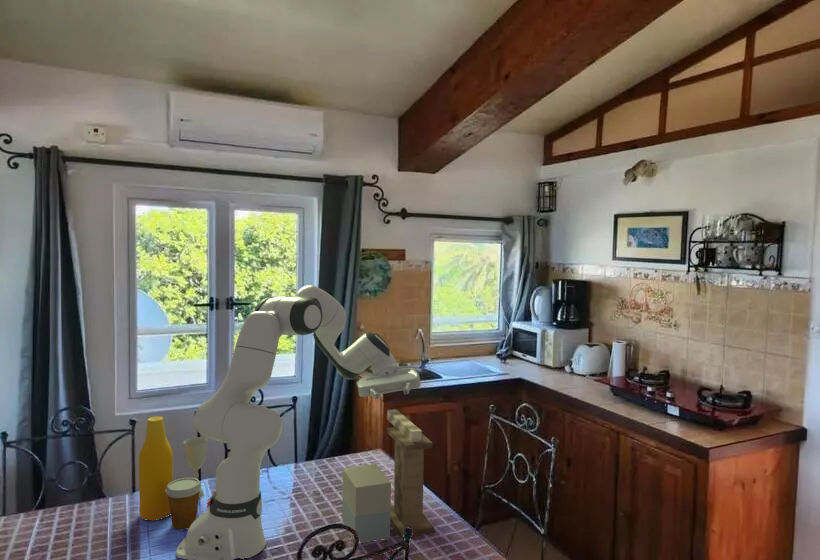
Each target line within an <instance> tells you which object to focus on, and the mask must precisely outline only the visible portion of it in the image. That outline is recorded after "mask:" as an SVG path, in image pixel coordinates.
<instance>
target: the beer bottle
mask: <svg viewBox="0 0 820 560" xmlns="http://www.w3.org/2000/svg"><path fill="white" fill-rule="evenodd" d="M164 422H165V421H164V417H163V416H152V417H149V418H147V423H146V424H147V425H146V432H145V440H144V443H143V445H142V446H141V449H140V452H139V455H138V487H139V488H138V489H139V491H138V492H139V503H138V505H139V509H138V511H139V517H140V518H143V519H147V520H156V519H161V518H164V517H166V516H168V515H170V508H169V501H168V495H167V493H166V489H167V486H168V484H169V483H170V482H172V481H174V474H173V473H174V470H173V469H174V464H173V463H174V462H173V461H174V460H173V458H174V455H173V449H172V446H171V444H170V443H169V441H168V439H167V435H166V429H165V423H164ZM170 516H171V515H170ZM168 517H169V516H168ZM166 518H167V517H166ZM143 519H142V520H143ZM164 519H165V518H164ZM161 520H162V519H161Z"/></svg>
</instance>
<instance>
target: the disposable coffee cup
mask: <svg viewBox="0 0 820 560" xmlns="http://www.w3.org/2000/svg"><path fill="white" fill-rule="evenodd" d="M200 489H202V484H201V482H200V480H199V478H198V479H196V478H194V477H183V478H181V477H180V478H177V479H173V481H172V482H170V483H169V484H168V486H167V489H166V493H167V495H168V501H169V508H170V514H171V515H170V520H171V527H172V526H173V527H172V529H174V528H176V529H184V530H187V529H186V528H188V529H189V527H190V526H191V524H192V523H193V522H194V521H195V520H196V519H197V518H198V517H197V516H198V507H199V501H200V500H199V492H200ZM176 529H175V530H176Z"/></svg>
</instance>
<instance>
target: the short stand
mask: <svg viewBox="0 0 820 560" xmlns="http://www.w3.org/2000/svg"><path fill="white" fill-rule="evenodd" d="M386 430H387V432H386V433H387V434H388V435H389V437H391V438H392V439H393V440H394V468H393V469H394V473H393V474H394V476H393V477H394V481H393V482H394V485H393V487H394V489H393V505H391V511H390V525H391V526H392V527H393V529H394V530H395V532H396V533H397V534H398V536H399V537H400V539H404V538H403V530H404V529H405V528H406V527H409V528H412V529H413V535H412V537H416V536H417V537H418V536H422V535H423V536H424V535H427V534H434V533H435V526H434V525H433V524H432V522H431V521H430V520H429V518H427V516H426V515H425V514H424V457H425V456H424V455H425V454H424V453H425V451H424V450H425V449H432V448H433V444H434V443H433V442H432V440H430V438H428V437H427V436H426V435H424V434H423V433H422V441H419V442H411V441H410V440H409V439H408V438H406V437H405V436H404V435H403V434H402V433H401V432H400V431H399V430H398V429H397V428H396V427H395V426H393V427H387V429H386Z"/></svg>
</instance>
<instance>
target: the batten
mask: <svg viewBox="0 0 820 560" xmlns="http://www.w3.org/2000/svg"><path fill="white" fill-rule="evenodd" d="M386 420H387V421H388V422H389V423H390V424H391V425H393V427H396V428H397V429H398V430H399V431H400V432H401V433H402V434H403V435H404V436H405V437H406V438H408V439H409V440H410V441H411V442H419V441H422V434H423V433H422V432H423V430H422V429H420V427H418V426H417V425H415V424H414V423H413V422H412V421H411V420H410V419H408V417H406V416H405V415H404V414H402V413H401V412H400V411H399V410H398V409H396V408H393V409H386Z"/></svg>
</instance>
